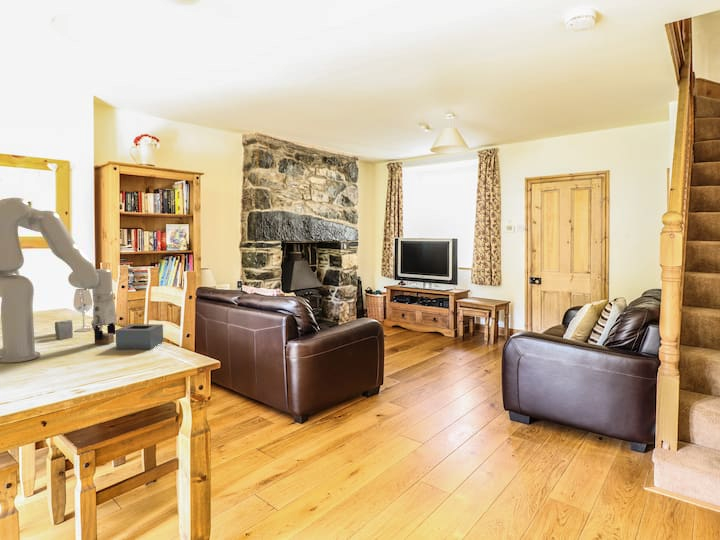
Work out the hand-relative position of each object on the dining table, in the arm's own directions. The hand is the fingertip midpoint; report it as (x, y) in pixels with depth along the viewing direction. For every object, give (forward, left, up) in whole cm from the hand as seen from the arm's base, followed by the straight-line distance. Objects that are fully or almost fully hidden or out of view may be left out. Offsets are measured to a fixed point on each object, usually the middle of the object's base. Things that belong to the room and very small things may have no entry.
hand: (105, 337), depth 195 cm
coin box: (+13, -13, -3) cm, 18 cm away
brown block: (0, 0, -3) cm, 3 cm away
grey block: (-17, +20, -3) cm, 26 cm away
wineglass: (-8, +34, -3) cm, 35 cm away
